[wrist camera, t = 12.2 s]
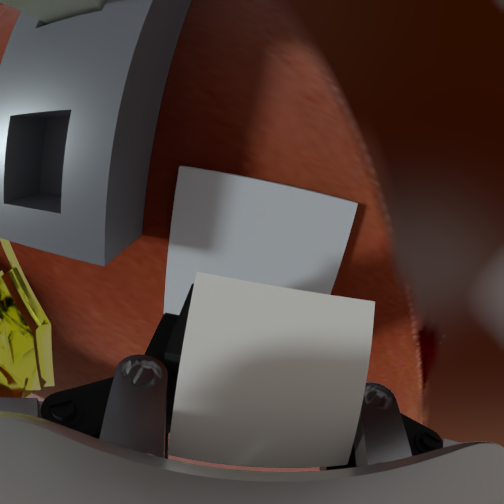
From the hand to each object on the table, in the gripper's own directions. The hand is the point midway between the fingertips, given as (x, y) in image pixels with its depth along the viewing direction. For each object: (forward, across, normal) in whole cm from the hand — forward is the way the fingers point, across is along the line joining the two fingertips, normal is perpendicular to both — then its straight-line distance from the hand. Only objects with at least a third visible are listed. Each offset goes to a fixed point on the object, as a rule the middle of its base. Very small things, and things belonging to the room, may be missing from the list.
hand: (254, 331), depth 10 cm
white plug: (+3, 0, +4) cm, 5 cm away
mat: (+7, 0, 0) cm, 7 cm away
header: (+7, +12, -10) cm, 17 cm away
